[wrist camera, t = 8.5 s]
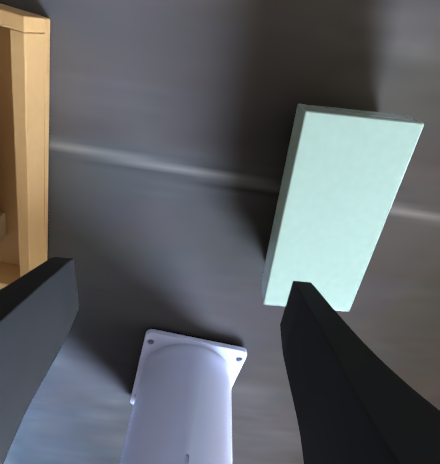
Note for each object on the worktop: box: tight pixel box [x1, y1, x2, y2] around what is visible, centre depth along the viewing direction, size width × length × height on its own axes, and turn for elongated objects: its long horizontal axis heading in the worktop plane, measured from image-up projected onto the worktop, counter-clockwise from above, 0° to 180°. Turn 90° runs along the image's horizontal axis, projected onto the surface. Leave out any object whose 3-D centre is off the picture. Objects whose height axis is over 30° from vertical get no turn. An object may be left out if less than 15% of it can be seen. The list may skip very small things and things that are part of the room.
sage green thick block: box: [261, 104, 424, 311], centre depth 18 cm, size 11×5×3 cm, turn 174°
